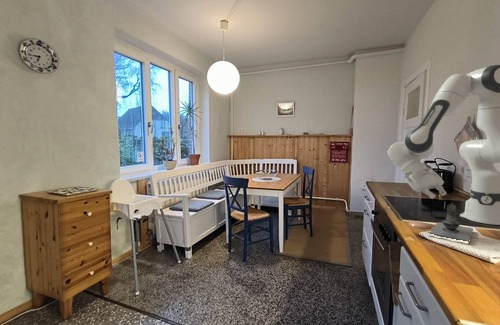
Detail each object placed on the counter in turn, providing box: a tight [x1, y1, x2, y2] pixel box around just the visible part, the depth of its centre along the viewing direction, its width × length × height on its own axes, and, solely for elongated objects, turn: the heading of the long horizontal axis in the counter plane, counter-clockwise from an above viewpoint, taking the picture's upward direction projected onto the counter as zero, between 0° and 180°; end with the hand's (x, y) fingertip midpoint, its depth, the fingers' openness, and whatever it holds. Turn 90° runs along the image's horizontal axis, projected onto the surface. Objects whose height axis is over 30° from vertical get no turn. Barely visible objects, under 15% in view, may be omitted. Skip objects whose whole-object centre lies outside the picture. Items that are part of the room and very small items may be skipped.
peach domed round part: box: [408, 220, 431, 229], centre depth 112 cm, size 8×8×1 cm
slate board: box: [429, 221, 474, 243], centre depth 101 cm, size 18×12×2 cm, turn 134°
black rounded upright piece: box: [441, 201, 461, 233], centre depth 101 cm, size 6×6×12 cm
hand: (439, 196), depth 104 cm, fingers open, 8 cm apart
